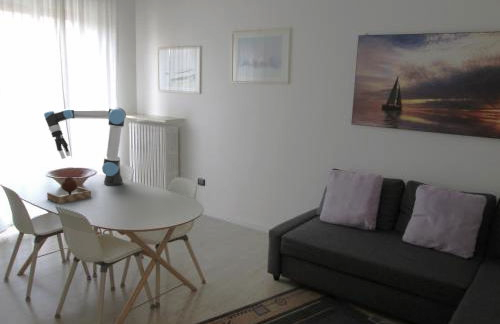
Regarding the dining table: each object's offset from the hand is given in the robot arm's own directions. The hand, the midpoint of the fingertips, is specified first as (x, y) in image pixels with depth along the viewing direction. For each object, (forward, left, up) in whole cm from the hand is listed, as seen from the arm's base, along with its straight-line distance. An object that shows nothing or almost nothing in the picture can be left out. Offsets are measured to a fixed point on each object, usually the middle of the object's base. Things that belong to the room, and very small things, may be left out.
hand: (66, 157), depth 316 cm
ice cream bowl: (+11, +22, -26) cm, 36 cm away
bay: (+11, +22, -26) cm, 36 cm away
